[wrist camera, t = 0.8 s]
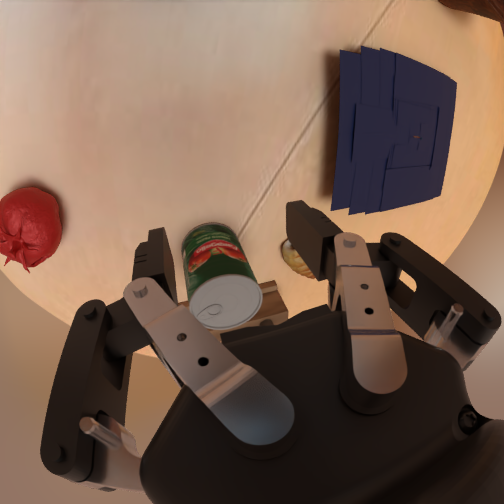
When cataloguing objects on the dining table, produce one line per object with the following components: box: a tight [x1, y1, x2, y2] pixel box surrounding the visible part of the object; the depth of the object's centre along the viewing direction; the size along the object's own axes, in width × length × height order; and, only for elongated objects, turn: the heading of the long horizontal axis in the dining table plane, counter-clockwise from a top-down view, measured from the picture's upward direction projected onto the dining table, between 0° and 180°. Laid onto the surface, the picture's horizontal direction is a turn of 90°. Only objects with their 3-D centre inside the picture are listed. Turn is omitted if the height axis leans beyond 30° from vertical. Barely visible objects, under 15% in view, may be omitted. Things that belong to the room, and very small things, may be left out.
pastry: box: [282, 240, 315, 279], centre depth 41 cm, size 9×7×4 cm
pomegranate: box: [0, 187, 62, 274], centre depth 23 cm, size 10×10×9 cm
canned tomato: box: [181, 223, 263, 330], centre depth 32 cm, size 8×8×11 cm
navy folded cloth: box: [331, 46, 457, 215], centre depth 33 cm, size 24×30×4 cm
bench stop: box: [178, 280, 288, 342], centre depth 40 cm, size 8×18×9 cm, turn 95°
